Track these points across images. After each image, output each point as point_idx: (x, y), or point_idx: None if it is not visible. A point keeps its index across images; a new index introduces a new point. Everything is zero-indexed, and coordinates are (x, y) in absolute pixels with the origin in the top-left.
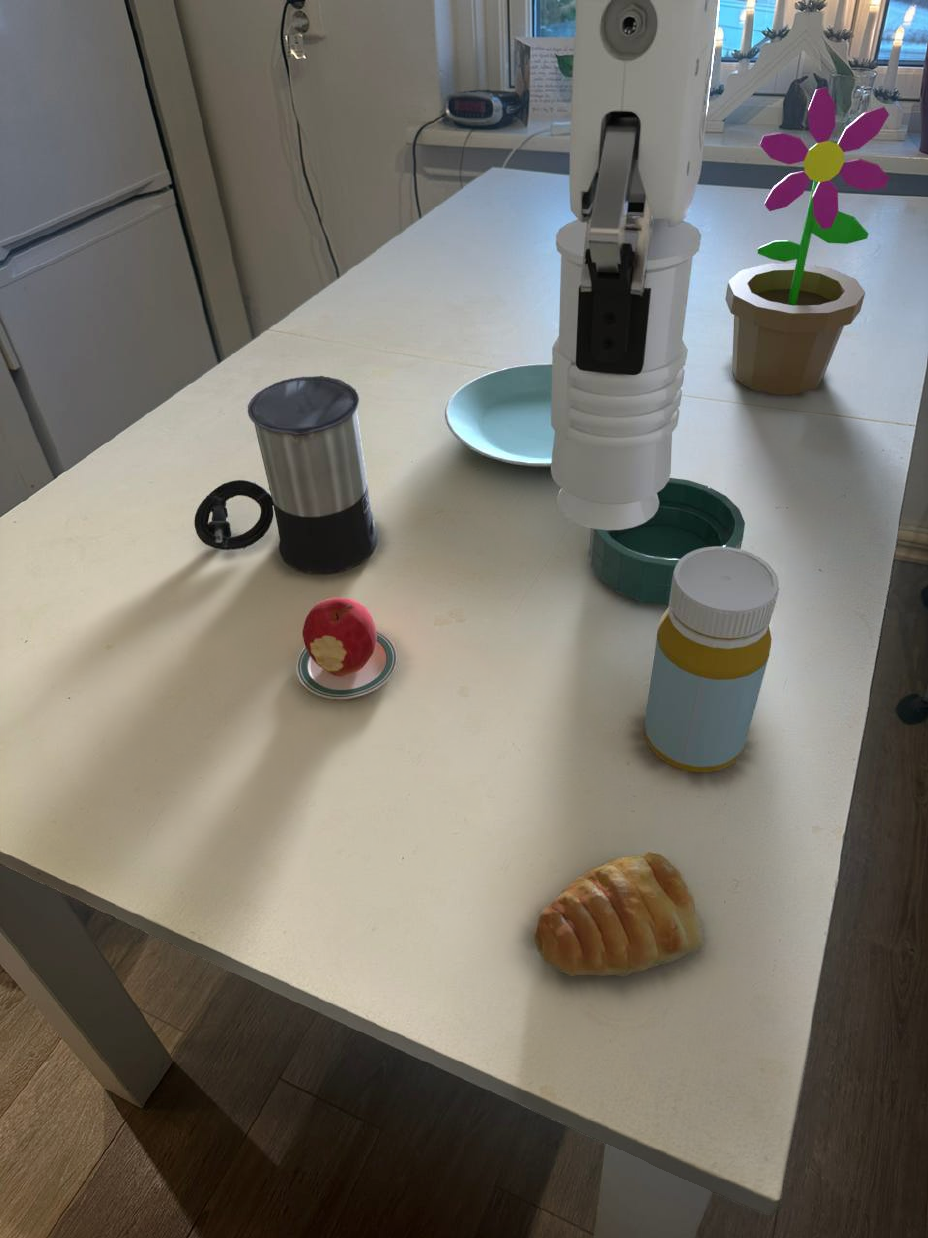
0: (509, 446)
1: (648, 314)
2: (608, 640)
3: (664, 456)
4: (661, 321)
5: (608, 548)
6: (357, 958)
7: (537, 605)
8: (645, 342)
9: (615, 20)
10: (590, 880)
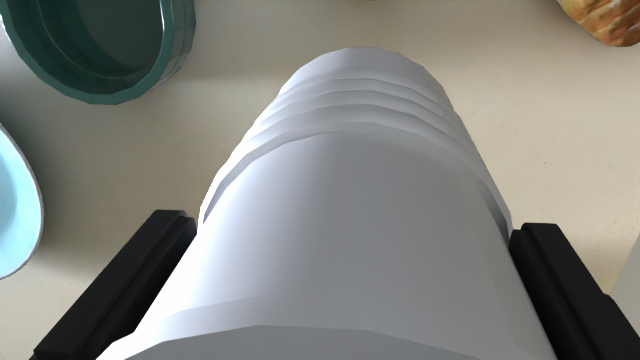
0: (4, 206)
1: (585, 318)
2: (257, 45)
3: (400, 71)
4: (497, 250)
5: (163, 75)
6: (635, 169)
7: (230, 124)
8: (567, 263)
9: None
10: (593, 10)
